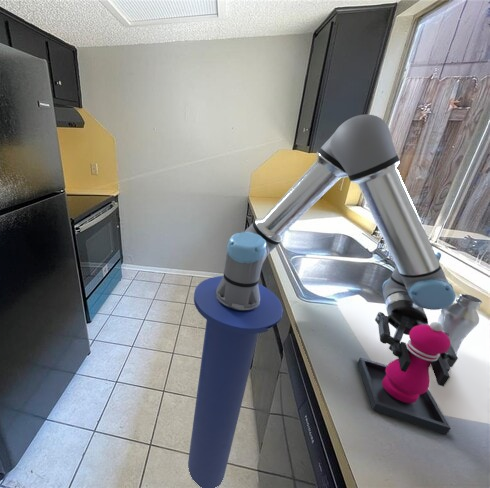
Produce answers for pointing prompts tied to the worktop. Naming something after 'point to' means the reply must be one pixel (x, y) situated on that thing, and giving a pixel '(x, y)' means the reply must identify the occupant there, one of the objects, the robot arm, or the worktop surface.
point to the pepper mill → (416, 363)
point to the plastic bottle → (460, 319)
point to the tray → (381, 401)
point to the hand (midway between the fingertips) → (424, 373)
